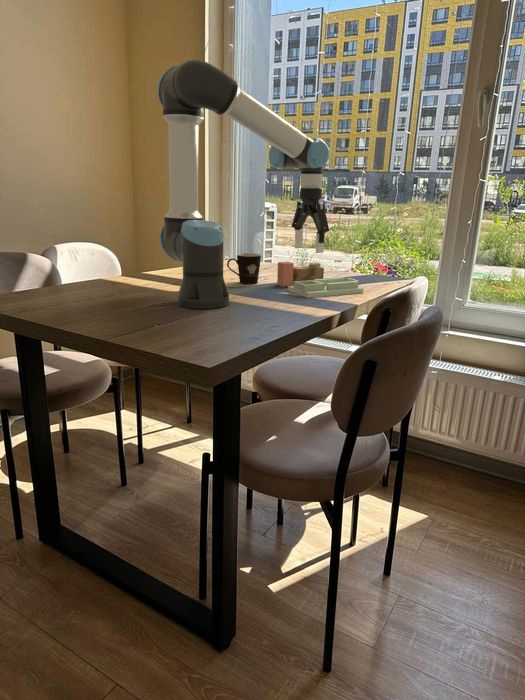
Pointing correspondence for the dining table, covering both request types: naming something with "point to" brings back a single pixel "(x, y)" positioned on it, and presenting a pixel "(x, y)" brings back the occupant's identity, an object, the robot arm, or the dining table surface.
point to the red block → (285, 274)
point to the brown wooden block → (308, 272)
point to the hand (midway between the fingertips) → (308, 250)
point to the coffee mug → (247, 267)
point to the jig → (325, 287)
